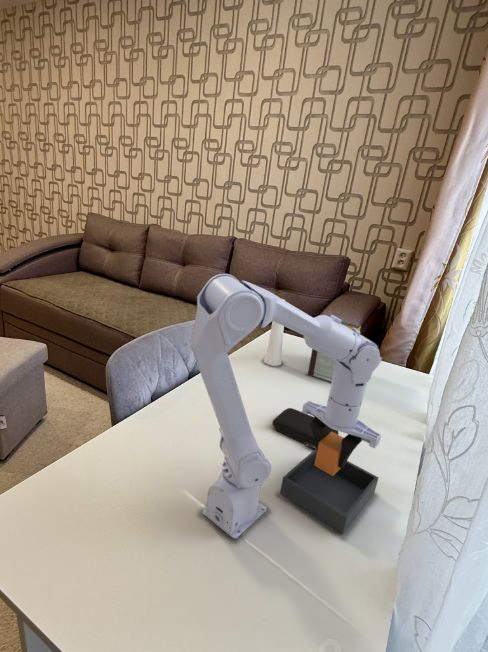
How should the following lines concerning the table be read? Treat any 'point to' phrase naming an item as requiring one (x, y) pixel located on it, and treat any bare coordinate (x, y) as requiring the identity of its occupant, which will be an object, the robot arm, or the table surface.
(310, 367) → the protein box
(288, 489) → the bin
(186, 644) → the table surface
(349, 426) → the robot arm
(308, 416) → the carrying case
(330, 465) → the block
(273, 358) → the cosmetic bottle
